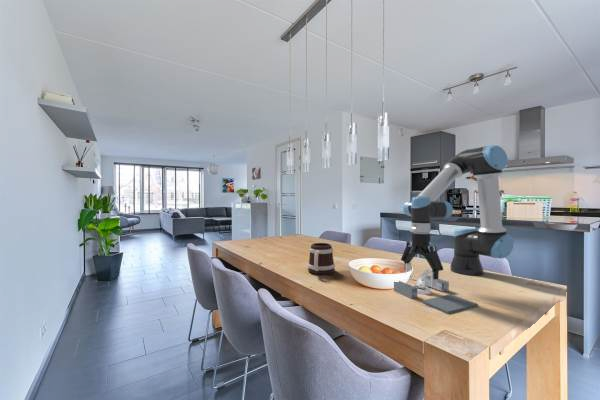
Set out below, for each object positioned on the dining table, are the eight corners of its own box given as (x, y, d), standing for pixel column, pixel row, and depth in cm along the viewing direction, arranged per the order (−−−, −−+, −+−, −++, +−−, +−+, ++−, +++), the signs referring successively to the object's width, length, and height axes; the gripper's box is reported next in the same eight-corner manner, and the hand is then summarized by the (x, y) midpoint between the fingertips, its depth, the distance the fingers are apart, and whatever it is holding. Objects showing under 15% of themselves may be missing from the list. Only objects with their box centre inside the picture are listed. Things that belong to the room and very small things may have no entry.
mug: (311, 267, 158) (311, 241, 158) (337, 269, 153) (337, 242, 153) (301, 276, 139) (301, 247, 139) (330, 279, 134) (329, 249, 134)
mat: (451, 296, 110) (450, 294, 110) (478, 306, 99) (478, 303, 99) (421, 302, 103) (421, 300, 103) (447, 313, 93) (447, 311, 93)
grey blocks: (429, 284, 125) (429, 275, 125) (448, 291, 115) (448, 281, 115) (393, 290, 116) (393, 281, 116) (411, 298, 107) (411, 288, 107)
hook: (446, 281, 112) (434, 273, 110) (427, 303, 113) (415, 295, 112) (435, 273, 119) (424, 265, 118) (418, 293, 120) (407, 286, 119)
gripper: (393, 229, 126) (393, 275, 126) (439, 236, 103) (439, 292, 103) (405, 229, 129) (405, 273, 129) (453, 235, 106) (453, 289, 106)
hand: (420, 282), depth 116 cm, fingers open, 13 cm apart
